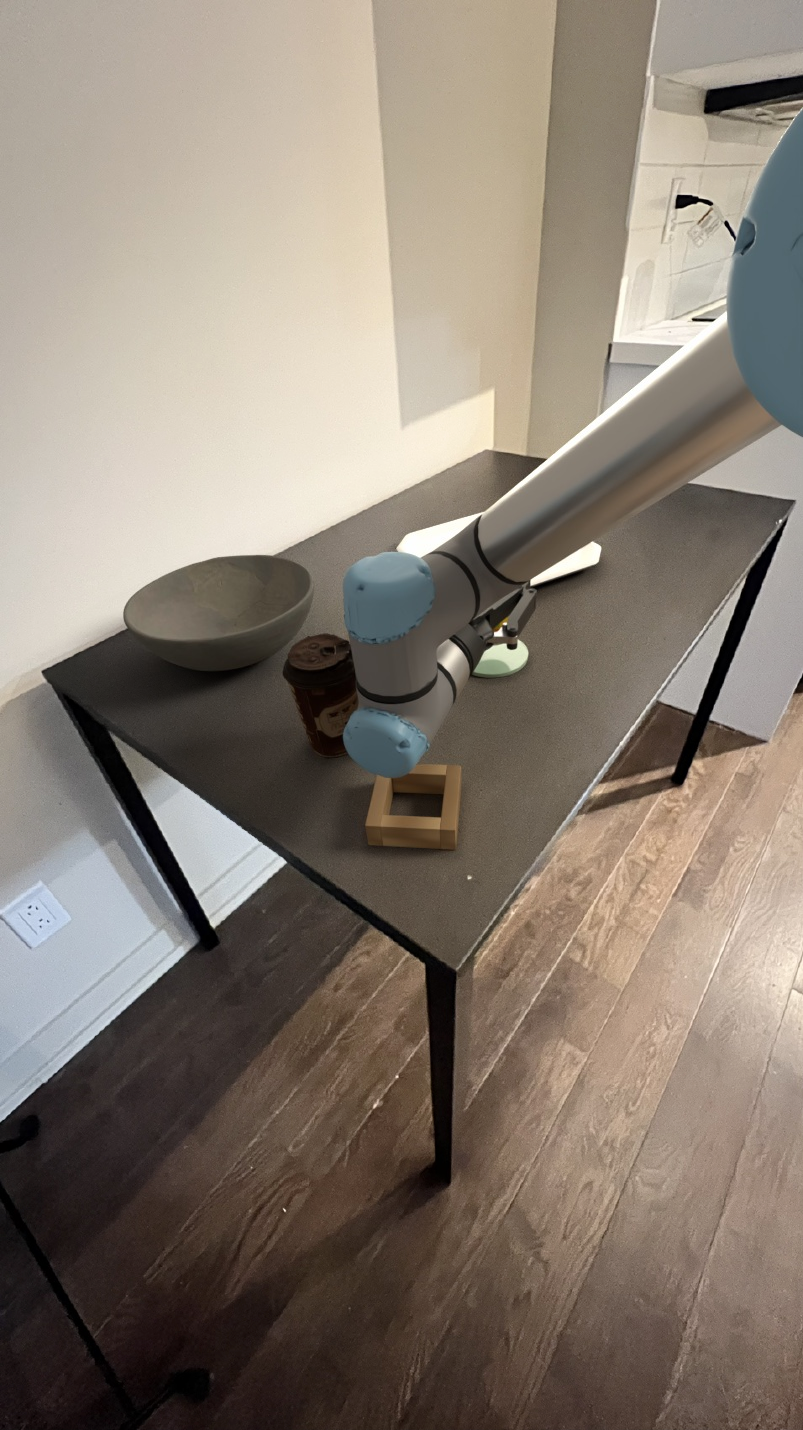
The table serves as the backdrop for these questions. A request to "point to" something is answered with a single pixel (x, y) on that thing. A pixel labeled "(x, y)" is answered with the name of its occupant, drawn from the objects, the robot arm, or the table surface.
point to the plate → (439, 534)
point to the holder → (413, 828)
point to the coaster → (501, 661)
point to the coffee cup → (323, 689)
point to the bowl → (222, 611)
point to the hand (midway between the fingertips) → (504, 565)
